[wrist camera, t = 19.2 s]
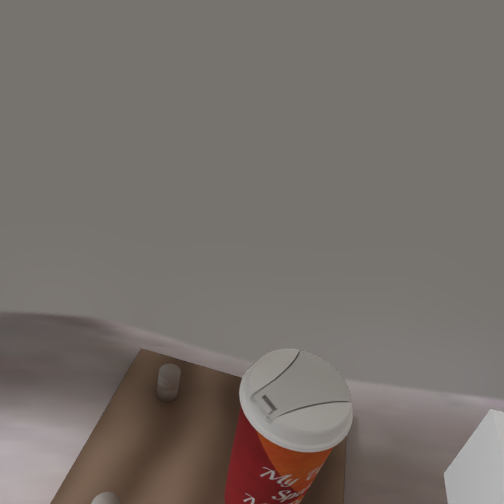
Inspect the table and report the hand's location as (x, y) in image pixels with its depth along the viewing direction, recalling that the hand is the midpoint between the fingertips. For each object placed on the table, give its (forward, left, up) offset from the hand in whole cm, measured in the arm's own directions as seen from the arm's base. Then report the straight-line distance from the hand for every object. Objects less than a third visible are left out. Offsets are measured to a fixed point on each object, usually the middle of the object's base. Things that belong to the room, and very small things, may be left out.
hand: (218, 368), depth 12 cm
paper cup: (+4, +14, -28) cm, 32 cm away
